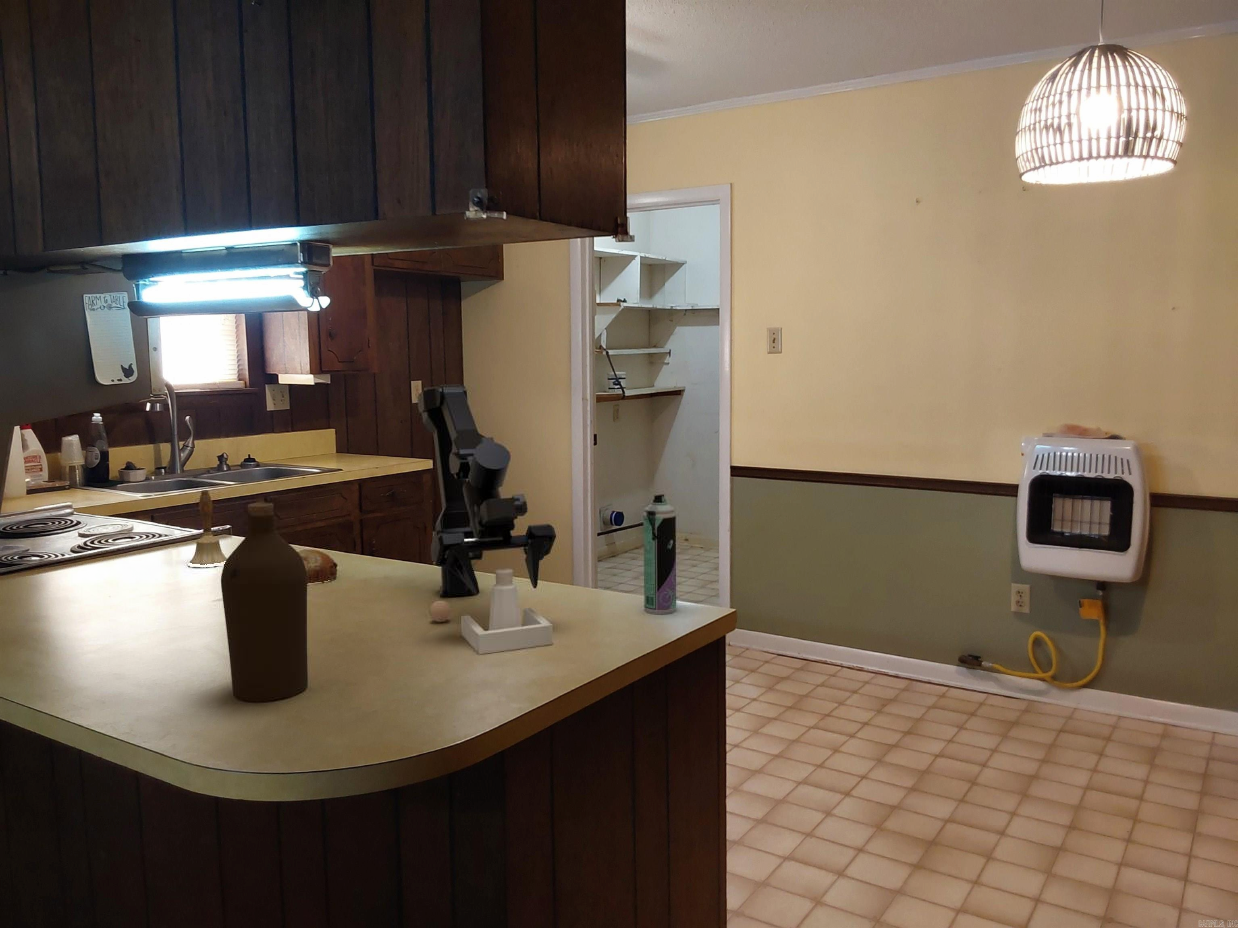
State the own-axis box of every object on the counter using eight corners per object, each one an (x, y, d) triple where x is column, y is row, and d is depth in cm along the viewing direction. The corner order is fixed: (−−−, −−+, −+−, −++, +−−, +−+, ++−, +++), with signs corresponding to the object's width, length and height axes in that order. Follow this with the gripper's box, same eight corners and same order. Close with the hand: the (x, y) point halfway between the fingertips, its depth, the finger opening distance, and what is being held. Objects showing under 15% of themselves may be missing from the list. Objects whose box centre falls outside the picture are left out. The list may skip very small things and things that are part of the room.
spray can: (673, 614, 161) (673, 497, 159) (641, 613, 162) (640, 496, 160) (678, 606, 167) (677, 492, 164) (647, 605, 168) (646, 491, 165)
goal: (461, 634, 151) (461, 616, 151) (530, 625, 156) (530, 607, 155) (479, 654, 142) (478, 634, 141) (552, 644, 146) (552, 624, 146)
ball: (430, 619, 160) (429, 598, 160) (451, 618, 161) (450, 597, 161) (429, 625, 157) (429, 604, 157) (451, 623, 158) (450, 603, 157)
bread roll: (292, 593, 194) (272, 560, 191) (339, 567, 197) (319, 534, 195) (297, 605, 185) (276, 570, 182) (345, 578, 188) (325, 543, 185)
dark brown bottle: (302, 702, 123) (291, 509, 120) (216, 706, 122) (204, 512, 119) (320, 674, 133) (311, 497, 130) (242, 677, 133) (231, 498, 130)
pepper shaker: (490, 634, 152) (488, 565, 150) (524, 633, 152) (523, 565, 150) (486, 644, 146) (484, 573, 145) (521, 643, 146) (520, 573, 145)
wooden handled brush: (238, 561, 207) (234, 488, 205) (207, 569, 200) (202, 493, 198) (210, 558, 211) (205, 486, 209) (178, 566, 203) (173, 491, 201)
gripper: (434, 481, 146) (454, 567, 137) (551, 473, 153) (576, 554, 144) (425, 524, 154) (443, 607, 145) (536, 514, 161) (560, 594, 153)
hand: (507, 590), depth 147 cm, fingers open, 9 cm apart
